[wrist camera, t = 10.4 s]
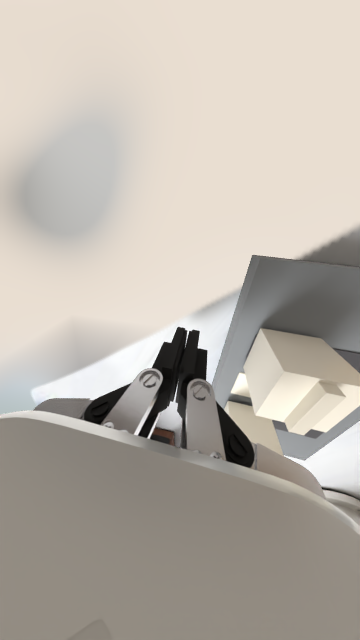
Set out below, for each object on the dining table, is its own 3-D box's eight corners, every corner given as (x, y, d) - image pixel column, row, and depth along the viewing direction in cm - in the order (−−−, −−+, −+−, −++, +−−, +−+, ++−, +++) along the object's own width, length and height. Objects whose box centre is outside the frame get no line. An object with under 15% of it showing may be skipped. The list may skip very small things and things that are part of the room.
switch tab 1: (268, 410, 14) (289, 474, 10) (254, 429, 16) (268, 489, 12) (227, 400, 15) (233, 458, 11) (219, 420, 17) (221, 475, 13)
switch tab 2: (321, 338, 10) (392, 403, 6) (293, 377, 12) (333, 445, 8) (260, 328, 10) (289, 381, 6) (243, 366, 12) (257, 425, 8)
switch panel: (475, 280, 9) (543, 290, 7) (296, 441, 20) (305, 461, 18) (252, 255, 10) (260, 258, 9) (201, 416, 21) (200, 433, 20)
